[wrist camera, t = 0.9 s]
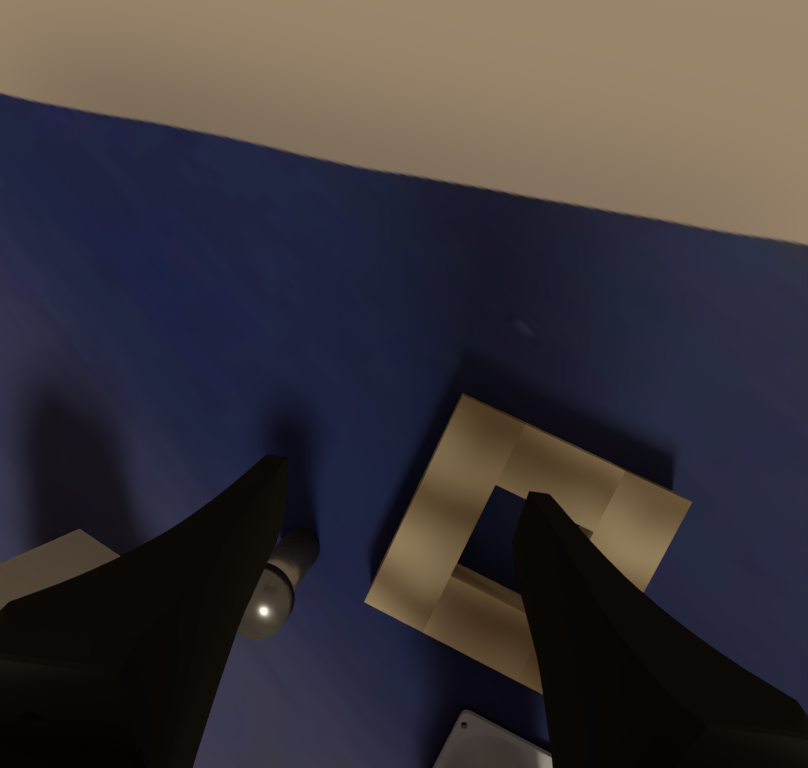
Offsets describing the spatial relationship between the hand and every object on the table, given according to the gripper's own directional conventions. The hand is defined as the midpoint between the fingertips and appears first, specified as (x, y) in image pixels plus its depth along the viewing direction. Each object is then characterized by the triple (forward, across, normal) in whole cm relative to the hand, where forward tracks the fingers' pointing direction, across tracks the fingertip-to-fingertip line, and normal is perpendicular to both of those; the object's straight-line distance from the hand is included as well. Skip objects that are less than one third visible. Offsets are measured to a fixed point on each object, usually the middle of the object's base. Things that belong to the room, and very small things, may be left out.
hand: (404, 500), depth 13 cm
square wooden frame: (+14, -10, +14) cm, 22 cm away
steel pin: (+14, +6, +18) cm, 24 cm away
